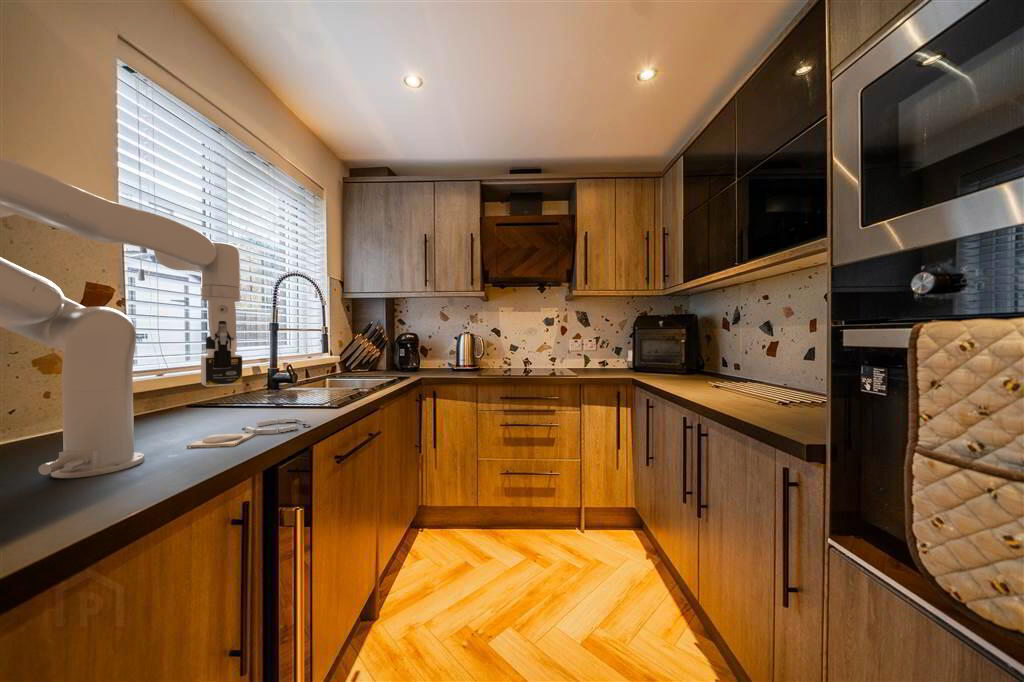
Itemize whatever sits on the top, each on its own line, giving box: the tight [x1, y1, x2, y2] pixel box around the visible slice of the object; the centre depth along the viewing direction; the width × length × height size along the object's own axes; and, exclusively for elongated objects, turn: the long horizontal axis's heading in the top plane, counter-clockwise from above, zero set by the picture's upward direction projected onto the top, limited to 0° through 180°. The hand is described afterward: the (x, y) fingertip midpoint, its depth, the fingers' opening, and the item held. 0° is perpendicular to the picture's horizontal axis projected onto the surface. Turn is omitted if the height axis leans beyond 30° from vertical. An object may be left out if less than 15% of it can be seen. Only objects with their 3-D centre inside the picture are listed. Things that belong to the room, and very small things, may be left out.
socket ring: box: [241, 417, 311, 436], centre depth 109 cm, size 14×17×1 cm
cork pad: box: [186, 432, 256, 449], centre depth 96 cm, size 10×10×1 cm
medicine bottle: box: [200, 335, 243, 388], centre depth 95 cm, size 7×7×12 cm
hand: (221, 366), depth 95 cm, fingers closed on medicine bottle, 7 cm apart
